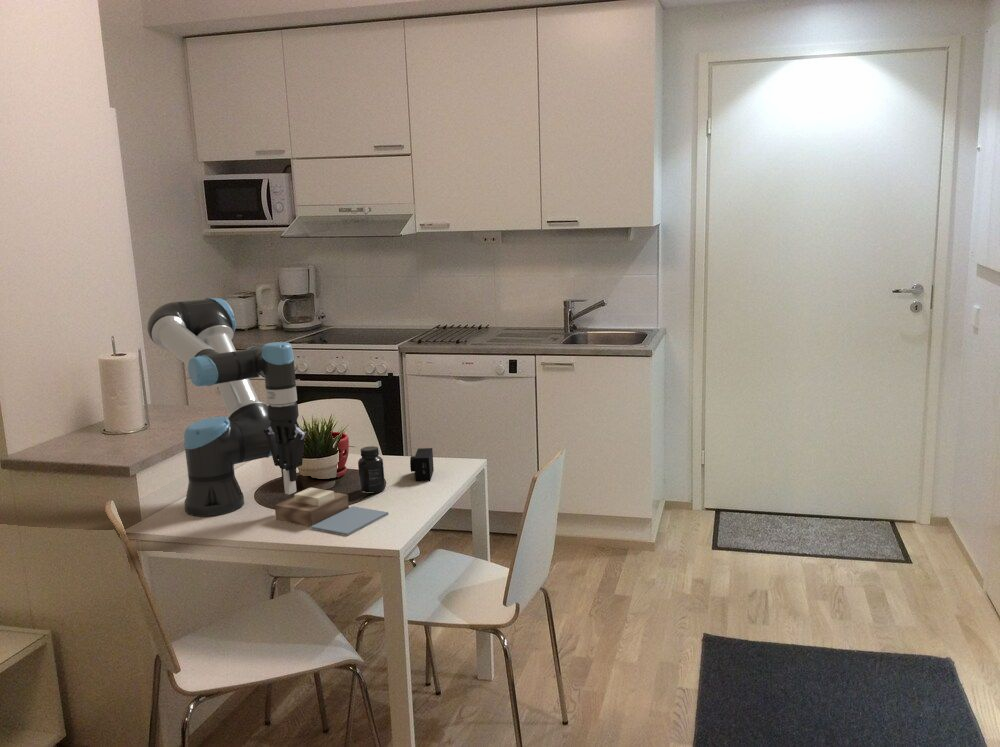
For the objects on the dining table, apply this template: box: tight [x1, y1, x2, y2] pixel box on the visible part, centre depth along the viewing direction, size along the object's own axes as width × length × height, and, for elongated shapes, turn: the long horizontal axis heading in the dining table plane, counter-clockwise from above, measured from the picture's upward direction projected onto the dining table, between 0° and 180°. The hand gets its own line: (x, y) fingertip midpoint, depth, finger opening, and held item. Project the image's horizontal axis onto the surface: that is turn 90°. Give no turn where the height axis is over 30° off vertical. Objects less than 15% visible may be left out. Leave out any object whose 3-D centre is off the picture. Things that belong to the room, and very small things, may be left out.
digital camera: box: [409, 447, 434, 483], centre depth 257 cm, size 10×5×7 cm, turn 179°
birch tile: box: [293, 487, 335, 506], centre depth 227 cm, size 8×6×2 cm
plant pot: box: [331, 431, 350, 478], centre depth 261 cm, size 13×13×12 cm
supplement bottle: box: [357, 445, 386, 494], centre depth 245 cm, size 7×7×12 cm
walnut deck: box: [274, 491, 350, 528], centre depth 228 cm, size 12×14×4 cm
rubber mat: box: [310, 505, 389, 537], centre depth 222 cm, size 12×16×1 cm
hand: (290, 492), depth 231 cm, fingers closed
